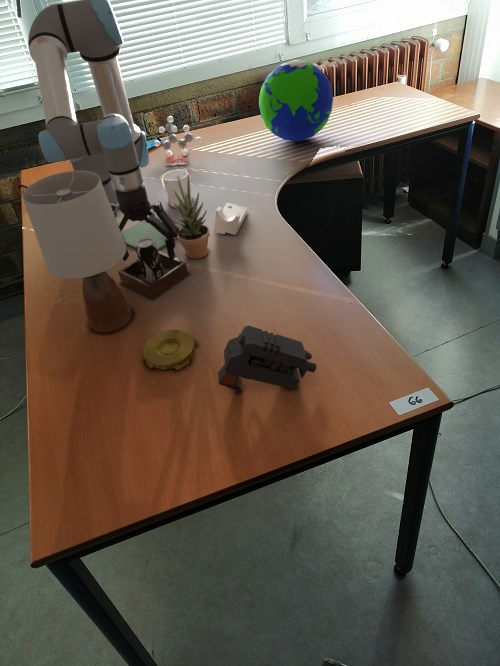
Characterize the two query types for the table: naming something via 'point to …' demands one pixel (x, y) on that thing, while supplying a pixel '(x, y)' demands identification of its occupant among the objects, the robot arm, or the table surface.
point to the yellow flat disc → (169, 350)
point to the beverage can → (149, 260)
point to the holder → (160, 284)
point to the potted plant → (192, 225)
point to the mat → (143, 235)
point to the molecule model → (173, 139)
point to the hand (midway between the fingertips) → (149, 258)
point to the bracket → (229, 218)
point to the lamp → (81, 241)
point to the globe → (296, 100)
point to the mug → (174, 185)
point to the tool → (264, 359)
